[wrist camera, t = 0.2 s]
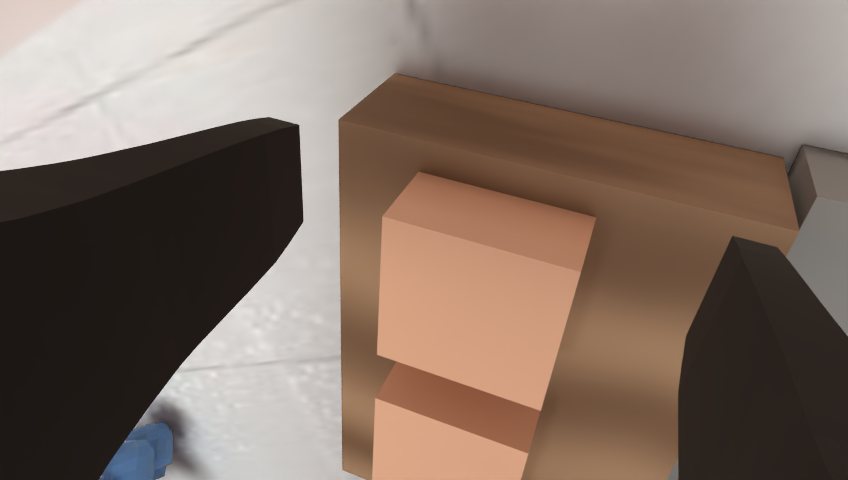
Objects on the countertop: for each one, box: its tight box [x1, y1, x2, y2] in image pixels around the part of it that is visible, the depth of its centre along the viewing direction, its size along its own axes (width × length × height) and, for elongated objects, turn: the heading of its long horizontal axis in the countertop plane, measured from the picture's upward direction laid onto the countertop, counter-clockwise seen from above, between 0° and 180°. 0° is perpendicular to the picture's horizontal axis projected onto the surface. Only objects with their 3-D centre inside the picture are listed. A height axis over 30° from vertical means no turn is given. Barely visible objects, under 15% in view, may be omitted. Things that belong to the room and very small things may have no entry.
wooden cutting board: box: [339, 74, 799, 480], centre depth 22 cm, size 17×12×4 cm
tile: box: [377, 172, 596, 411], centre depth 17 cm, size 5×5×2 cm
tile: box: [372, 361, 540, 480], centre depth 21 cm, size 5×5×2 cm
